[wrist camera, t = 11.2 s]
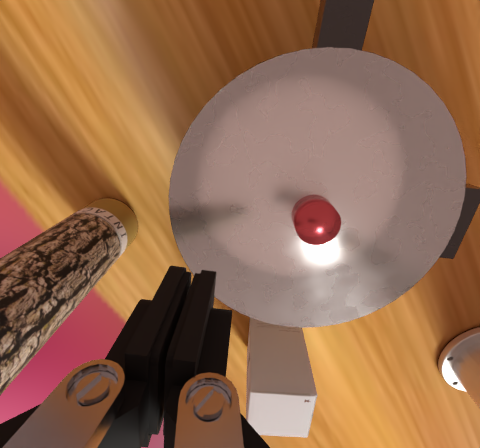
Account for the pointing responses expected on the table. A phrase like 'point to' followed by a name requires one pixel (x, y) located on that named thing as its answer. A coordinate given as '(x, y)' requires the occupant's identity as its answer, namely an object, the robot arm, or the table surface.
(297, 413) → the supplement box
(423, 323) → the table surface
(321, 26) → the pressure cooker pot
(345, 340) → the table surface
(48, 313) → the brown cylindrical piece
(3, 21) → the table surface
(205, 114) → the cooker lid
